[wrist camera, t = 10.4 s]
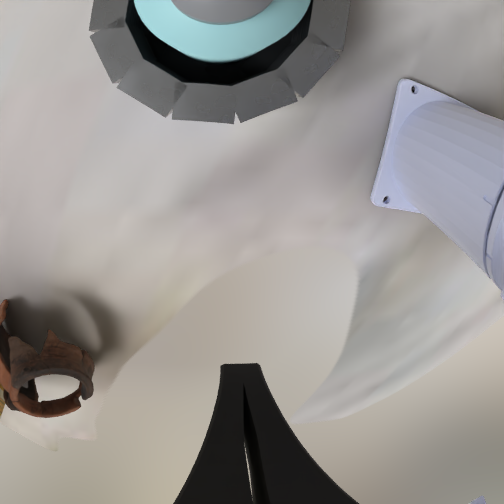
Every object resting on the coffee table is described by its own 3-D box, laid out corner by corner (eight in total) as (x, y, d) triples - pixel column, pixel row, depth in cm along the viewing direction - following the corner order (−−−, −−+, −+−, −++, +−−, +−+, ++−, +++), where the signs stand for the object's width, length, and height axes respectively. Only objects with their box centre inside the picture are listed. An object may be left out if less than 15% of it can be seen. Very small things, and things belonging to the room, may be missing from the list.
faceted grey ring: (329, -42, 10) (358, -66, 7) (302, 122, 15) (326, 137, 12) (137, -60, 9) (117, -89, 5) (112, 107, 14) (82, 119, 10)
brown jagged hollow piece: (6, 266, 19) (10, 350, 14) (96, 299, 26) (126, 371, 21) (-25, 357, 20) (-16, 432, 15) (51, 374, 27) (72, 440, 22)
